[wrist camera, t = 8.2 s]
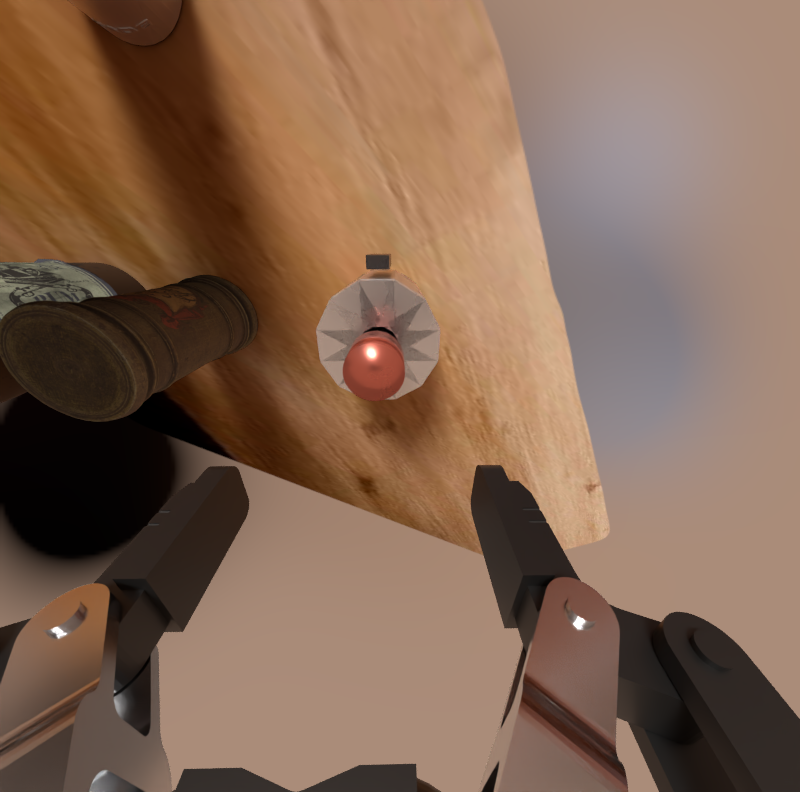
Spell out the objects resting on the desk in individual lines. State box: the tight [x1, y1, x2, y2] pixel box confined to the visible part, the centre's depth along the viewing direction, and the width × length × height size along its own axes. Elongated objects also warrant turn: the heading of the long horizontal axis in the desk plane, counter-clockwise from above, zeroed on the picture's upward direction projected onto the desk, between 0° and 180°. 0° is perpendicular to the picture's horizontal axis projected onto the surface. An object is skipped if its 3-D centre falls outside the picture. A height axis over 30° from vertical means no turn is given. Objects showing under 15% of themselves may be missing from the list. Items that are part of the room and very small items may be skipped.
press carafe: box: [316, 254, 440, 399], centre depth 29 cm, size 12×10×13 cm
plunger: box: [343, 327, 405, 401], centre depth 26 cm, size 7×7×17 cm
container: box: [0, 275, 258, 421], centre depth 26 cm, size 9×9×18 cm
